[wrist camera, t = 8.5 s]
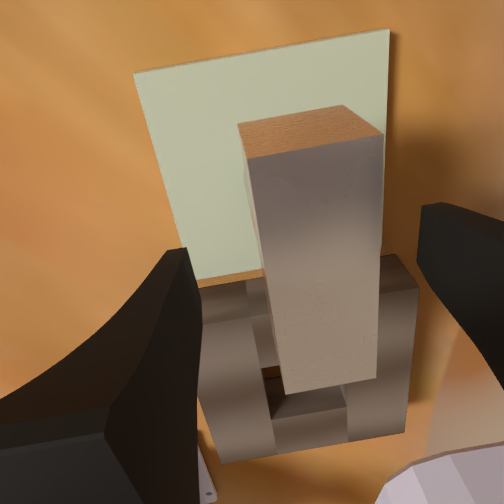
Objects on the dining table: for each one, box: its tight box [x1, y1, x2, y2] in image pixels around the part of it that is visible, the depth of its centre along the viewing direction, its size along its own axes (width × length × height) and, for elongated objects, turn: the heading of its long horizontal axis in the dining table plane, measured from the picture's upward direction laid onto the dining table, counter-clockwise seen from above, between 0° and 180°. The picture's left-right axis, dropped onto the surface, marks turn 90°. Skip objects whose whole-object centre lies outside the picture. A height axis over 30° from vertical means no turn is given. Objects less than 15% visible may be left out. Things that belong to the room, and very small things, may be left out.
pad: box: [133, 28, 390, 280], centre depth 18 cm, size 10×10×1 cm
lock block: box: [197, 254, 420, 464], centre depth 23 cm, size 12×12×3 cm
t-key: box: [237, 104, 384, 395], centre depth 14 cm, size 3×8×8 cm, turn 9°
